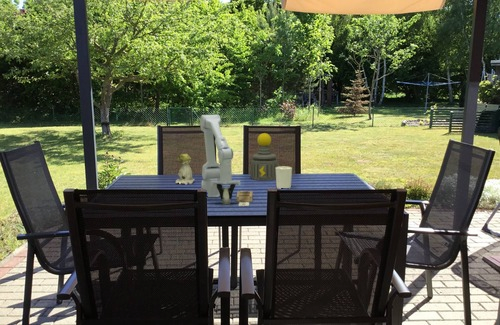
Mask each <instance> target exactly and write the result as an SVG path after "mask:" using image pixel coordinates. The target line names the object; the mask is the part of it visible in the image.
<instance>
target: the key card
mask: <svg viewBox="0 0 500 325" xmlns="http://www.w3.org/2000/svg"><path fill="white" fill-rule="evenodd" d="M249 205H250V202H238V206H239V207H249Z"/></svg>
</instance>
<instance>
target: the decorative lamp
mask: <svg viewBox="0 0 500 325" xmlns="http://www.w3.org/2000/svg"><path fill="white" fill-rule="evenodd" d="M271 142H272V137H271V136H270V134H268V133H266V132H264V133H261V134H259V135H258V136H257V144H258V146H259V148H258V151H257V153H254V154H253V155H252V158H251V161H250V163H249V166H250V167H249V168H250V169H249V172H250V177H251V179H252V180H254V181H259V182H260V181H264V182H265V181H267V182H268V181H276V169H275V168H276V167H280V163H279V161H278V159H277V155H276V154H275V153H272V151H271V148H270V145H271Z"/></svg>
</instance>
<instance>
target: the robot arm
mask: <svg viewBox="0 0 500 325" xmlns="http://www.w3.org/2000/svg"><path fill="white" fill-rule="evenodd" d="M221 122H222V120H221V116H220V115H219V114H201V116H200V118H199V124H200V130H201V132H203V137H204V147H205V148H204V149H205V156H206V158H205V159H206V162H205V163H204V164H203V165H202V167H201V176H202V180H201V185H200V186H201V189H202V188H203V189H206V190H207V192H208V197H207V198H220V200H222V188H223V186H229V188H230V200H232V199H233V193H234V190H235V188H236V186H237V185H238V186H241V180H237V179H236V180H235V179H232V177H233V176H232V160H233V159H234V150H233V148H232V147H230V146H229V144H228V142H227V139H226V137H225V136H223V135H222V130H221ZM215 146H216V147H215ZM215 148H216V149H217V157H218V162H217V160H216V159H217V158H216V150H215Z"/></svg>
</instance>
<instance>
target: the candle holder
mask: <svg viewBox="0 0 500 325" xmlns="http://www.w3.org/2000/svg"><path fill="white" fill-rule="evenodd" d="M275 169H276V179H275V183H276V188H277V189H278V190H282V189H281V188H289V189H291V186H292V176H293V175H292V172H293V167H291V166H279V167H276V168H275Z"/></svg>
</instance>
